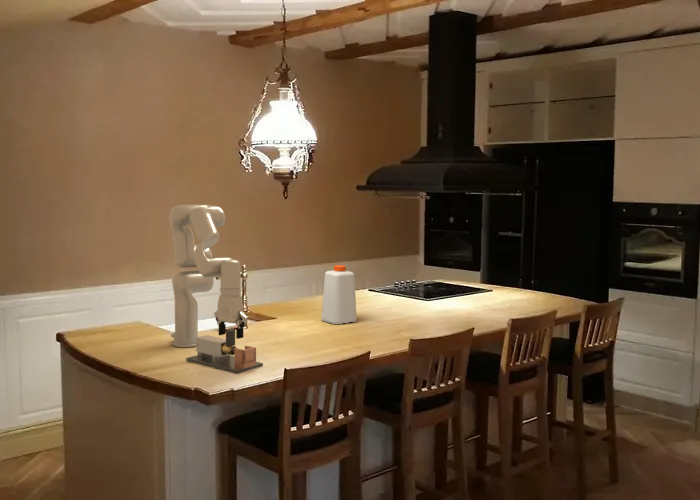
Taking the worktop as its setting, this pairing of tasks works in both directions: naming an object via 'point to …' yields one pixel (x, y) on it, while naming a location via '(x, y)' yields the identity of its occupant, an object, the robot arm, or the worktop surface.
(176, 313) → the robot arm
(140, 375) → the worktop surface
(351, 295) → the plastic bottle
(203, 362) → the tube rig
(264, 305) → the worktop surface
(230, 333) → the sliding bolt with handle
